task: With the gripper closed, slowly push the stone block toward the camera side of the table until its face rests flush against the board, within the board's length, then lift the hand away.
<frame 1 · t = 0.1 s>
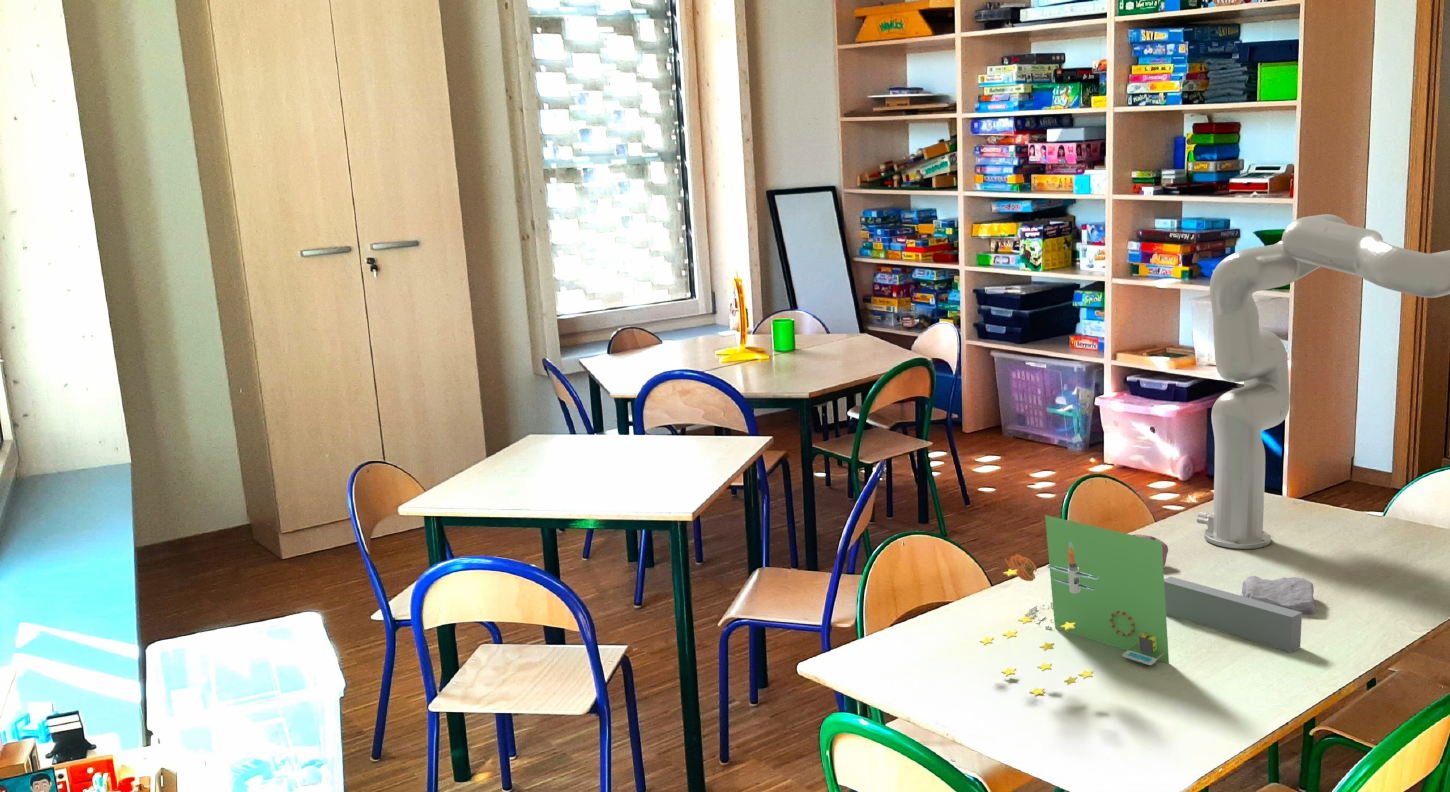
stone block: (1278, 606, 224), on the table
miniature furniture: (1066, 607, 229), on the table
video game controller: (1140, 566, 247), on the table
board: (1227, 629, 214), on the table
toy game set: (1066, 668, 203), on the table
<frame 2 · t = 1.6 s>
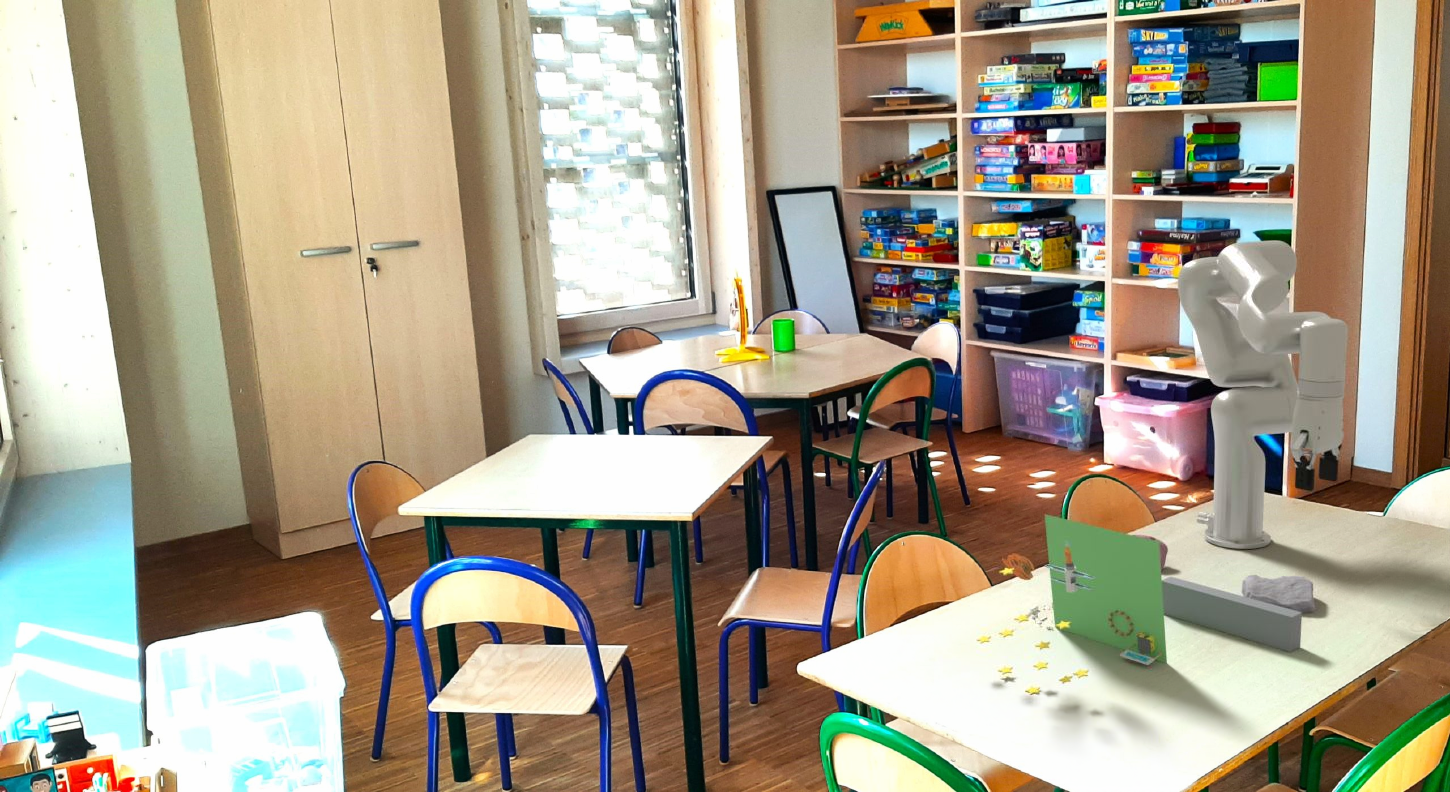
hand: (1316, 484, 226), 20 cm above the table, tool pointing down, fingers open, 7 cm apart
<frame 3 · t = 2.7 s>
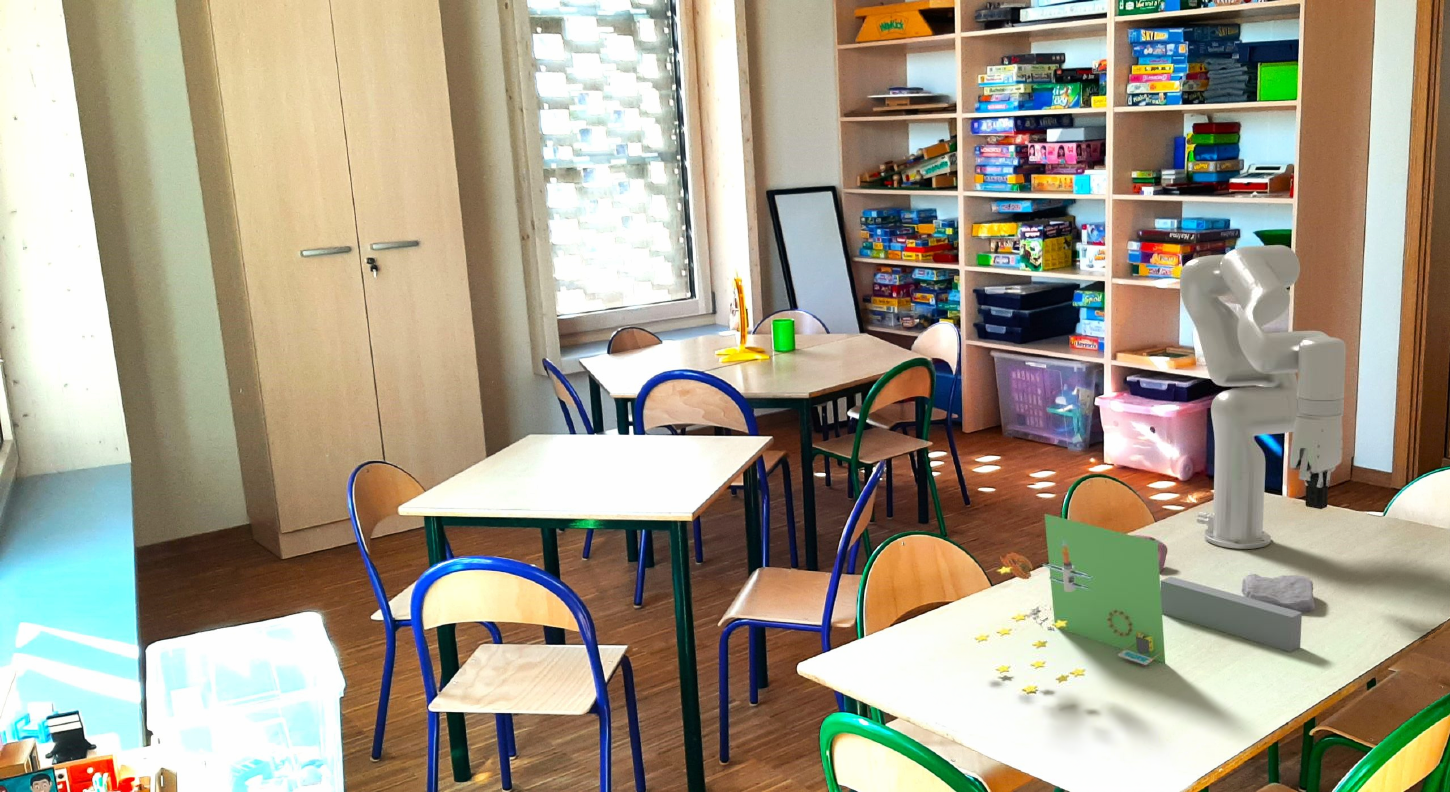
hand: (1316, 506, 227), 16 cm above the table, tool pointing down, fingers closed
miniature furniture: (1068, 607, 229), on the table, touching toy game set
toy game set: (1062, 666, 203), on the table, touching miniature furniture
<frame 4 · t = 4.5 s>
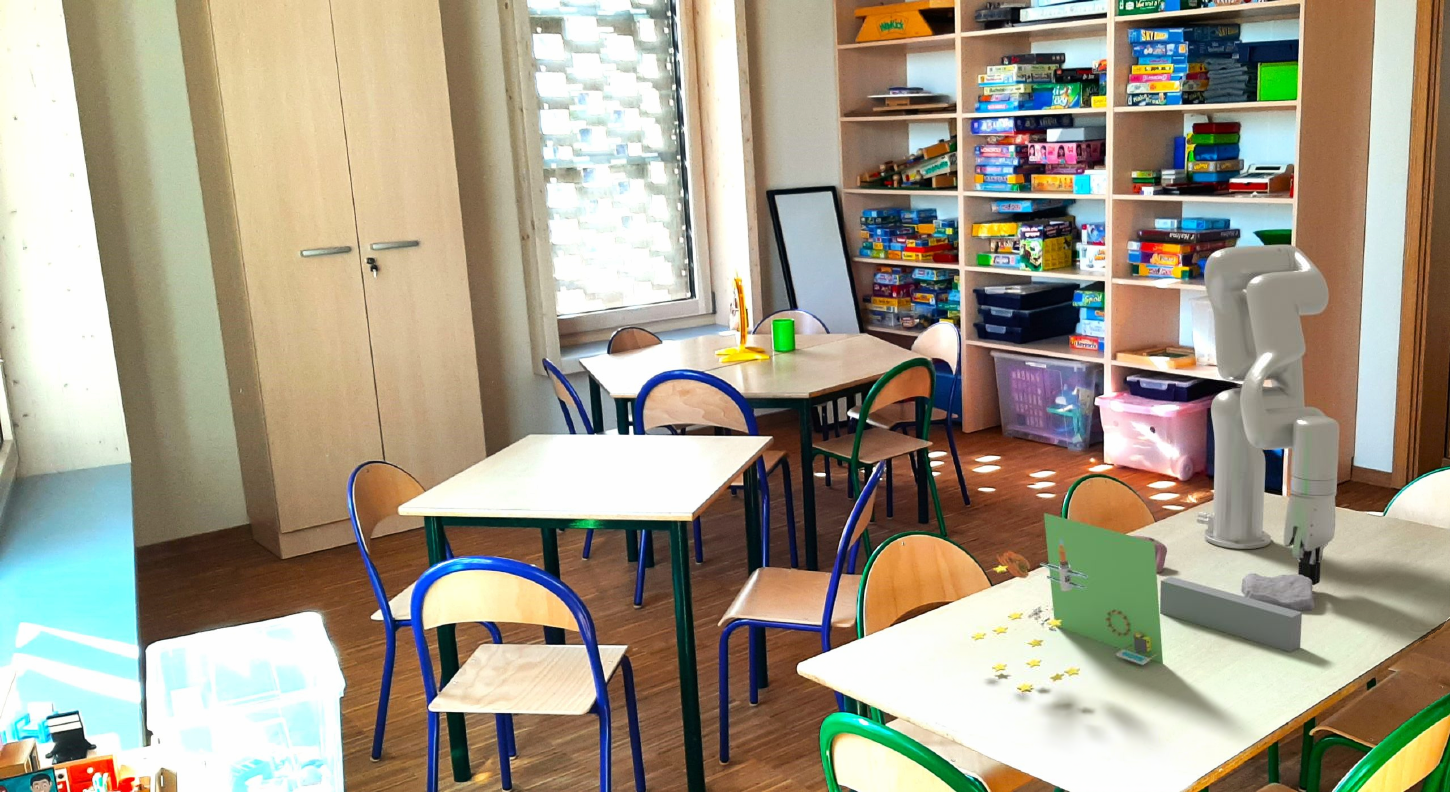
hand: (1308, 582, 229), 2 cm above the table, tool pointing down, fingers closed
stone block: (1278, 603, 226), on the table, touching gripper
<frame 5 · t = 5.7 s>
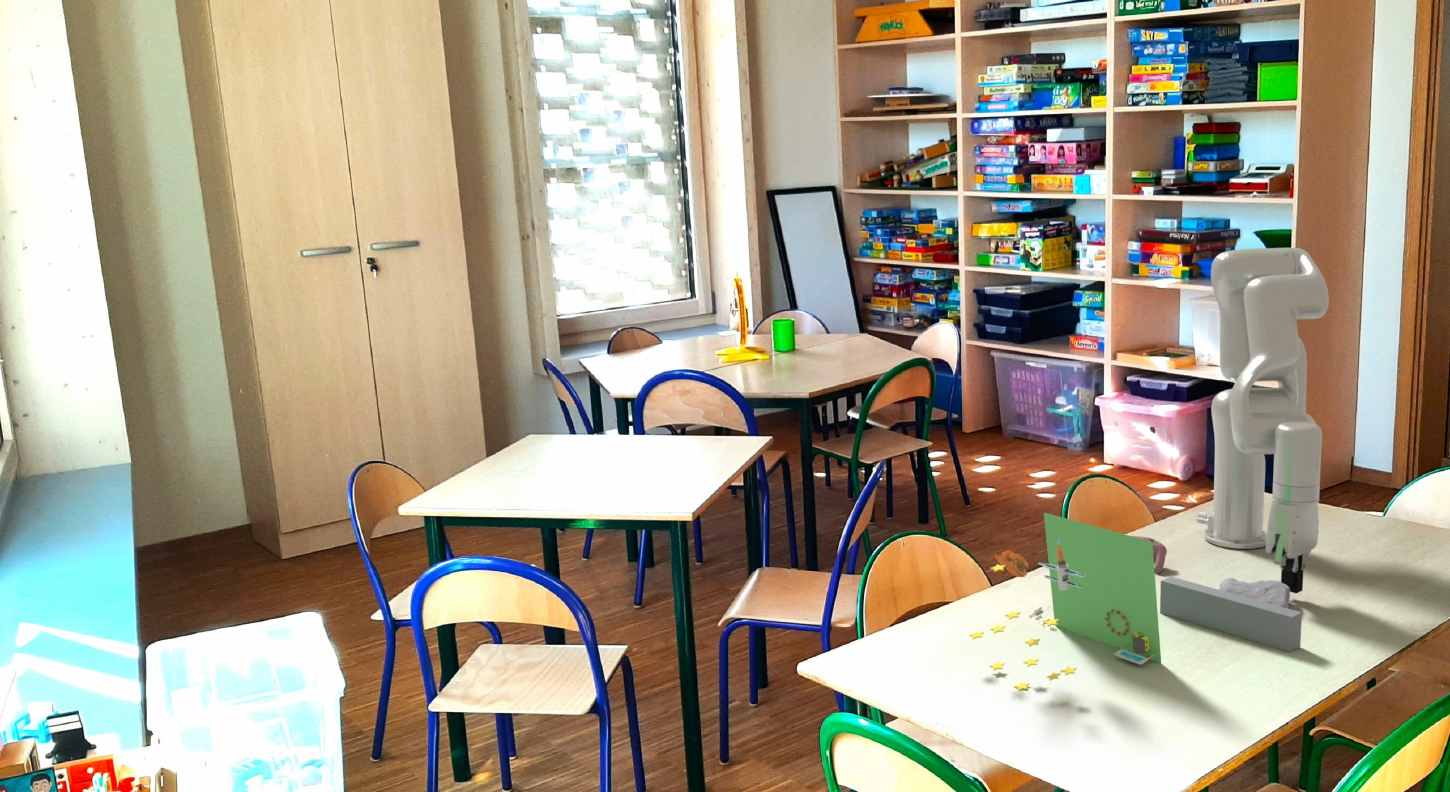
hand: (1291, 590, 226), 2 cm above the table, tool pointing down, fingers closed
stone block: (1253, 609, 223), on the table, touching gripper
miniature furniture: (1071, 608, 228), on the table
toy game set: (1057, 664, 204), on the table
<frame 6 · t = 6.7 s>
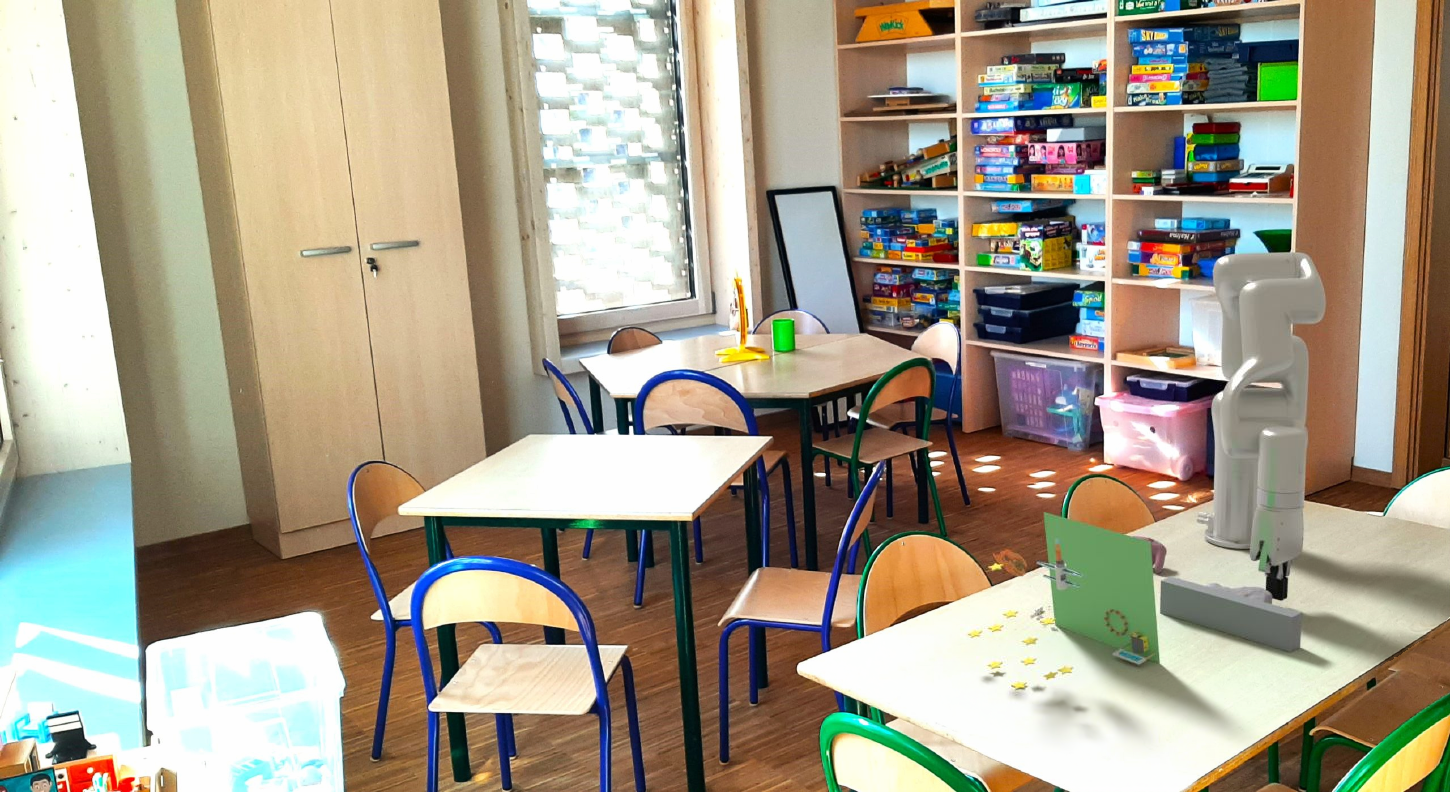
hand: (1276, 597, 223), 2 cm above the table, tool pointing down, fingers closed
stone block: (1233, 615, 221), on the table, touching gripper
miniature furniture: (1072, 608, 228), on the table, touching toy game set
toy game set: (1055, 664, 204), on the table, touching miniature furniture
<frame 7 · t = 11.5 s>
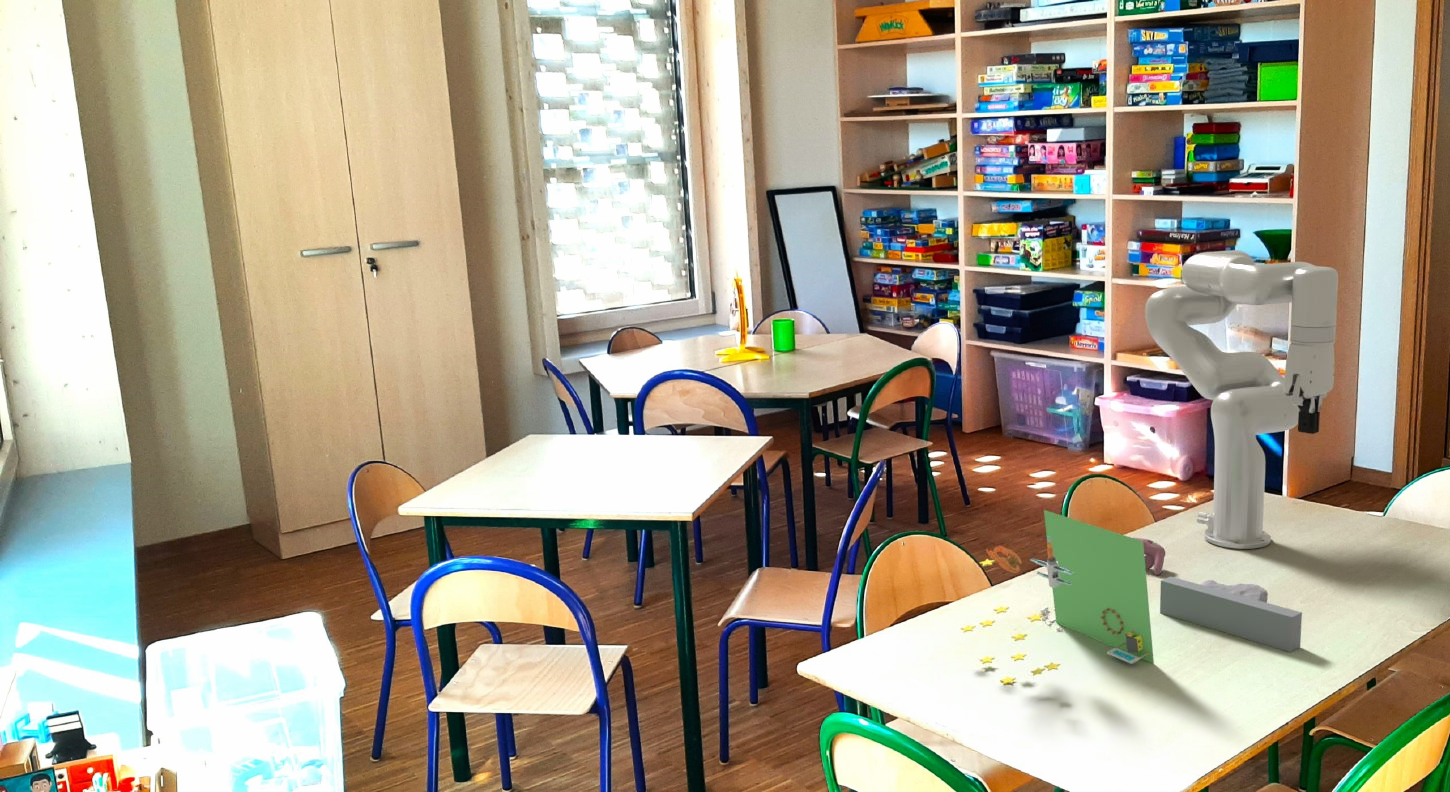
hand: (1308, 431, 234), 27 cm above the table, tool pointing down, fingers closed
stone block: (1228, 612, 223), on the table
miniature furniture: (1078, 609, 228), on the table
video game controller: (1137, 569, 245), on the table
toy game set: (1048, 661, 205), on the table
at the end: stone block inside the target area on the table beside the board (4.8 cm from its centre), on the table; stone block tilted 0° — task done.
